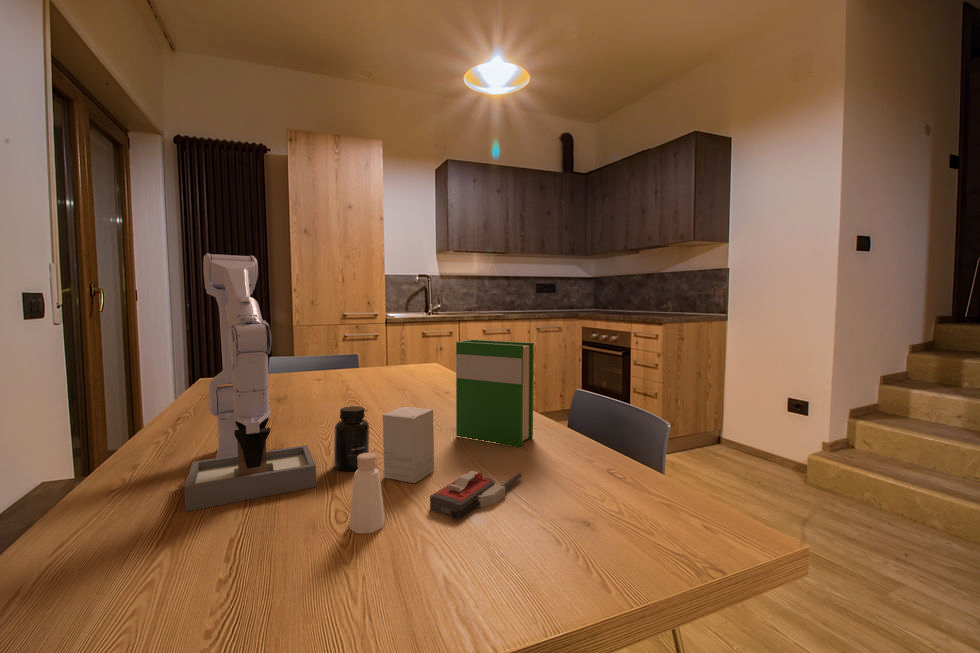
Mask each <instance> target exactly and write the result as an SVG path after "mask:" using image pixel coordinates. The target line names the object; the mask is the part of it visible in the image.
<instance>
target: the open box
mask: <svg viewBox="0 0 980 653" xmlns="http://www.w3.org/2000/svg"><path fill="white" fill-rule="evenodd" d="M266 463H267V472H263V473H257V474H251V475H245V476H239V473H238V455H236V456H229V457H222V458H216V457H215V458H210V459H202V460H196V461H192V464H191V467H190V469H189V473H188V476H187V479H186V482H185V484H184V508H185V509H184V510H185V512H191V511H196V510H202V509H206V508H211V507H217V506H222V505H223V506H224V505H227V504H228V505H229V504H233V503H237V502H238V503H239V502H243V501H249V500H253V499H259V498H264V497H265V498H266V497H269V496H270V497H271V496H275V495H281V494H285V493H290V492H296V491H301V490H302V491H303V490H307V489H311V488H313V489H314V488H316V487H317V467H316V466H317V465H316V462H315V460H314V458H313V455H312V453H311V450H310V448H309V446H308V444H306V445H304V444H303V445H299V446H290V447H284V448H278V449H272V450H266Z"/></svg>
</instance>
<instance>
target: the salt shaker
mask: <svg viewBox="0 0 980 653" xmlns="http://www.w3.org/2000/svg"><path fill="white" fill-rule="evenodd" d="M376 458H377V454H375V453H374V452H369V453H363V454H360V455H358V456H357V461H358V464H357V466H358V470H355V472H354V474H353V480H352V481H353V482H352V493H351V505H350V516H349V527H348V528H349V530H350V531H352V532H354V533H355V534H357V535H366V534H373V533H375V532H377V531H380V530H381V529H383V528H384V525H385V523H386V517H385V516H386V514H385V508H384V507H385V506H384V500H383V498H384V497H383V491H382V483H381V475H380V470H379V469H378V468H376V467H377V466H376V465H377V464H376Z"/></svg>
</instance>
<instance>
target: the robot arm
mask: <svg viewBox="0 0 980 653" xmlns="http://www.w3.org/2000/svg"><path fill="white" fill-rule="evenodd" d="M202 264H203V278H204V289H205V290H206V294H207V295H209V296H212V297H214V298H215V300H216V302H217V306H218V313H219V329H220V330H219V331H220V344H221V358H222V363H221V364H222V371H220V372H219V373H217V375H215V376H214V377H213V378H211V380H210V382H209V383H208V404H209V405H208V406H209V413H210V415H212V416H213V417H216V419H217V420H216V421H217V443H218V445H217V446H218V447H217V452H216V457H215V458H222V457H229V456H236V455H238V444H237V440H238V442H239V443H240V445H241V448H242V451H243V455H244V459H245V463H246V466H247V468H248V469H249V468H255V467H260V465H261V462H262V456H263V450H264V445H265V442H266V443H267V439H268V437H269V435H270V432H271V427H266V426H267V424H268V422H269V420H270V419H269V417H270V416H271V415H272V414H271V410H270V396H269V395H270V393H269V392H270V391H269V357H268V354H270V353H271V351H272V350H271V349H272V332H271V329H270V324H269V323H268V322H267V321H266V319H265V320H264V319H263V318H262V313H261V310H260V306H259V302H258V301H257V300H256V299H255V298H254V297H251V295H252V294H253V292H254V290H255V288H256V284H257V280H258V277H259V276H258V275H259V265H258V259H257V258H256V257H255V256H254V255H230V254H212V253H205V255H203V262H202ZM229 384H230V385H229ZM231 384H232V385H231ZM221 385H224V386H221Z"/></svg>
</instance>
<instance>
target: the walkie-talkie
mask: <svg viewBox="0 0 980 653" xmlns="http://www.w3.org/2000/svg"><path fill="white" fill-rule="evenodd" d="M522 477H523V476H522V474H521V473H517V474H515V475H514V476H512V477H511V478H510V479H509V480H507V481H506V482H505V483H503V484H495V480H493V478H491V477H486V476H483V473H482V472H478V471H474V470H468V471H467V472H466V473H463V474H462V475H460V476H459V477H458V478H457V479H455V480H454V481H452V482H451V483H449V484H447V485H446V486H444V487H442V488H441V489H439V490H437V491H436V492H434V493H433V494H431V495H430V496H429V498H430V499H429V504H430V505H429V508H430V511H431V512H433V513H436V514H438V515H439V514H440V515H442V516H446V517H448V518H449V517H450V518H451V519H452V520H460V519H463V518H464V517H465V516H467V515H469V514H470V513H471V512H472V511H474V510H475V509H476V508H485V507H491V506H494V505H495V504H497V503H498V502H500V500H502V499H504V498H505V497H506V491H507V490H508V489H509V488H511V486H513V485H515V483H516V482H517V481H518V480H519V479H521V478H522Z"/></svg>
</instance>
